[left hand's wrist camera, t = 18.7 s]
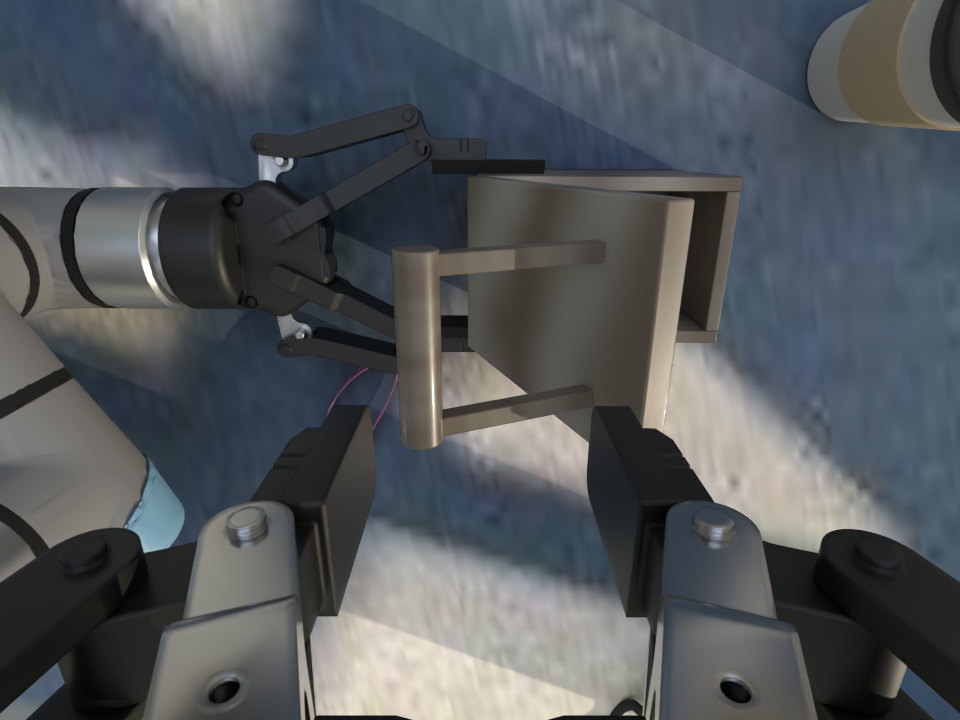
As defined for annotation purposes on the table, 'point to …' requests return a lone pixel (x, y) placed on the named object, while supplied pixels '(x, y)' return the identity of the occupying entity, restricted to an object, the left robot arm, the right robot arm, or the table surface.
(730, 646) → the left robot arm
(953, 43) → the coffee cup
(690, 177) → the chest
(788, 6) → the table surface
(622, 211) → the lid
